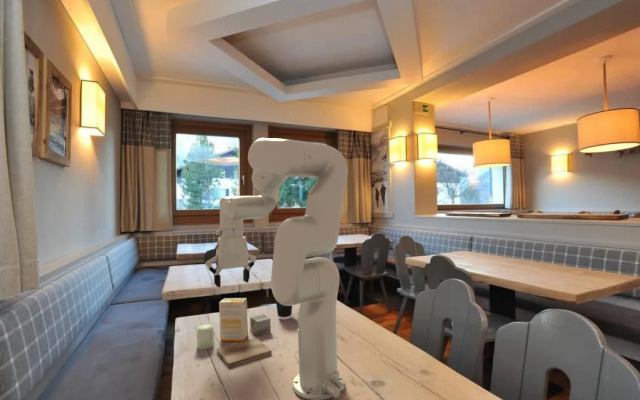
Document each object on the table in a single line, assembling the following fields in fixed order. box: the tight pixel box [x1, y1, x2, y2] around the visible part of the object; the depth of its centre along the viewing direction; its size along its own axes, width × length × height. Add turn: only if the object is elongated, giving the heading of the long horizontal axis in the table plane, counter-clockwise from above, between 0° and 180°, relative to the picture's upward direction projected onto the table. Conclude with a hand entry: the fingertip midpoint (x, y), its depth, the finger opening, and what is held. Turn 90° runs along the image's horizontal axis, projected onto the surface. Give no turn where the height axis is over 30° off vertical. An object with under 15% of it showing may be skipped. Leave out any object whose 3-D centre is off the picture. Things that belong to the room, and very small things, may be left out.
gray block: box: [249, 313, 272, 337], centre depth 115 cm, size 6×5×5 cm
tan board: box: [216, 337, 273, 369], centre depth 99 cm, size 11×13×1 cm
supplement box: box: [218, 297, 249, 342], centre depth 110 cm, size 8×5×13 cm, turn 84°
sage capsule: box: [196, 324, 215, 351], centre depth 104 cm, size 5×5×6 cm
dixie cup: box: [275, 299, 293, 320], centre depth 129 cm, size 8×8×11 cm
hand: (232, 283), depth 110 cm, fingers open, 9 cm apart
